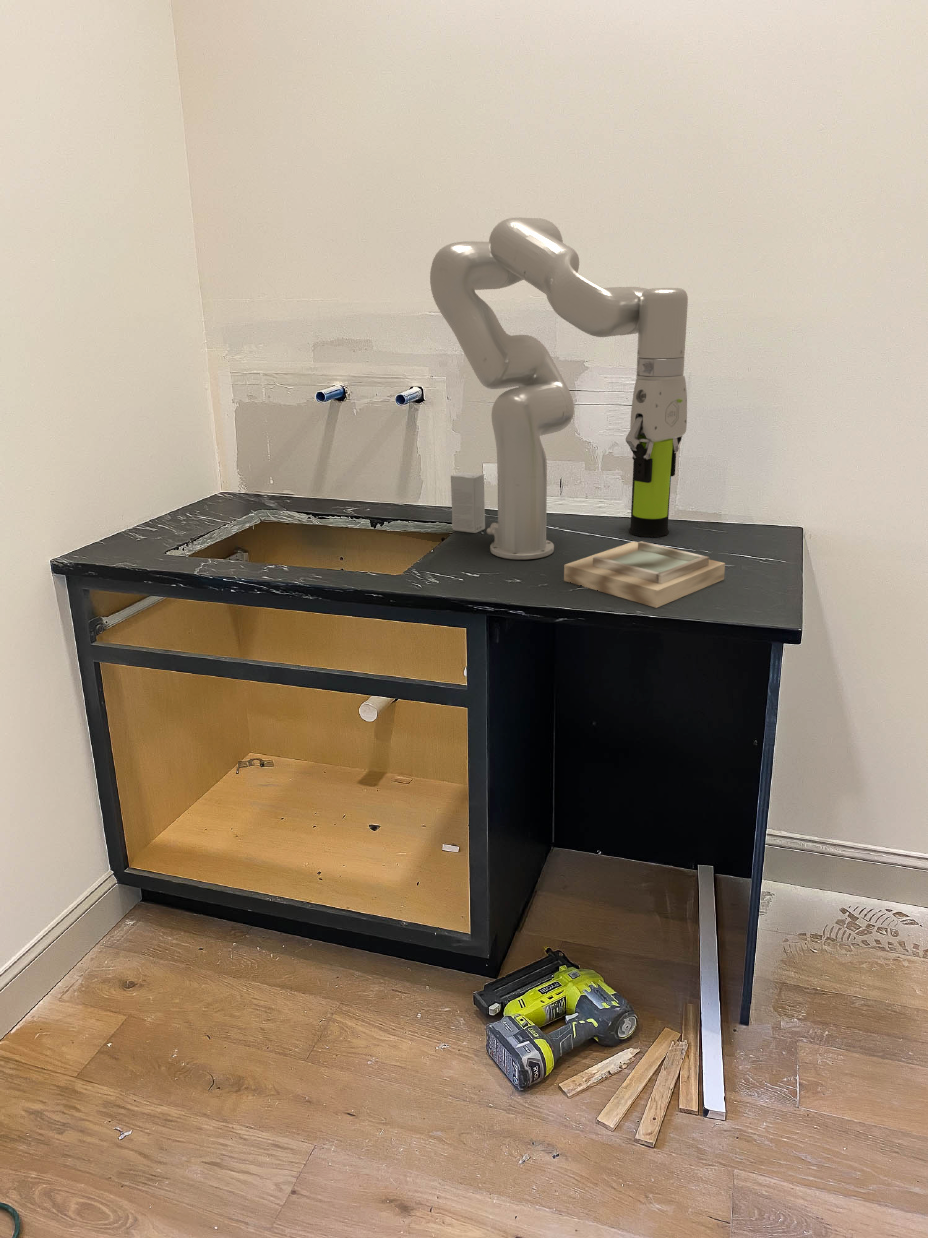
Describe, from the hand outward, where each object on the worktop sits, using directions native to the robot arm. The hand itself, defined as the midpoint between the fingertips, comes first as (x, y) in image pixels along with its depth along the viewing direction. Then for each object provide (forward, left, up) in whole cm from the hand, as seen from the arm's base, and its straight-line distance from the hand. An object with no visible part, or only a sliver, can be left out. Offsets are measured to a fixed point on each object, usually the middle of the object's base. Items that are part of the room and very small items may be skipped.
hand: (654, 477), depth 153 cm
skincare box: (-49, +2, -19) cm, 52 cm away
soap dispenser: (0, 0, -7) cm, 7 cm away
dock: (-1, 0, -19) cm, 19 cm away
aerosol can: (-19, +26, -19) cm, 37 cm away
